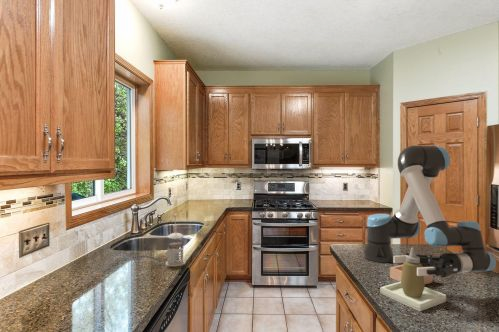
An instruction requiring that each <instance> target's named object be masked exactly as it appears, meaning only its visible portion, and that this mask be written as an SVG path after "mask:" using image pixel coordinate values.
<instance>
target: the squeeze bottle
mask: <svg viewBox="0 0 499 332" xmlns="http://www.w3.org/2000/svg"><path fill="white" fill-rule="evenodd" d="M409 254H410V255H409V256H406V261H405V262H404V263H402V265H403V270H402V277H401V285H402V289H403V292H404V294H405V295H407V296H410V297H421V295H422V293H423V291H424V288H425V287H426V286H425V285H424V276H417V268H421V267H424V266H423V264H422V263H420V258H419V257H417V255H416V254H417V252H416V248H415V247H411V248H410V251H409Z"/></svg>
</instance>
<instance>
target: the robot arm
mask: <svg viewBox="0 0 499 332" xmlns="http://www.w3.org/2000/svg"><path fill="white" fill-rule="evenodd" d="M450 164H451V157H450V154H449V152H448V150H447V149H446V148H445V147H443V146H441V145H439V146H438V145H434V144H433V145H418V144H417V145H409V146H407V147H405V148H404V149H402V150H401V151H400V154H398V158H397V168H398V172H399V174H400V176H401V177H402V178H404V179H405V182H406V184H407V186H408V187H407V188H406V192H405V195H404V196H403V199H402V202H401V205H400V207H399V209H396V210H395V212H394V214H393V216H391V215H390V214H388V213H374V214H370V215H369V216H368V217H367V222H366V234H367V235H366V239H367V240H366V245H365V247H364V250H363V258H364V259H366V260H368V261H372V262H377V263H392V262H393V264H403V263H404V262H405V261H406V256H409V255H410V253H408V252H406V253H405V255H394V253H393V248H392V246H391V242H392V241H391V239H411V238H415V237H417V236H418V235H419V233H420V232H421V227H420V226H421V222H420V221H419V217H418V214H419V212H420V215H421V216H422V219H423V222H424V224H425V226H426V229H425V230H424V233H423V235H424V240H425V242H426V243H427V244H428V245H429V246H431V247H433V248H434V247H436V248H439V247H440V248H445V247H446V248H447V247H461V250H462V251H461V252H460V251H459V252H444V253H441V254H440V256H433V255H432V254H417V253H416V255H417V257H419V258H420V263H421V264H422V265H426V267H425V266H423V267H421V268H417V276H427V275H433V276H440V277H441V278H443V279H445V278H447V277H449V276H451V275H452V274H463V273H480V272H481V273H484V272H490V271H493V270H494V269H495V268H496V266H497V265H496V264H497V260H496V258H495V257H494V255H493V254H492V253H491V252H490V251H487V250H486V248H485V244H484V239H483V235H482V230H481V227H480V225H479V223H478V221H475V220H473V221H458V222H456V226H449V223H448V221H447V220H446V218H445V215H444V214H443V212H442V210H441V208H440V205H439V203H438V201H437V199H436V197H435V195H434V193H433V191H432V189H431V187H430V186H431V184H432V181H433V179H435V178H436V179H437V177H438V176H439V173H440V172H441V171H444V170H447V169H448V168H449V166H450Z"/></svg>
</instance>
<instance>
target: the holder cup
mask: <svg viewBox="0 0 499 332" xmlns="http://www.w3.org/2000/svg"><path fill="white" fill-rule="evenodd" d="M402 270H403V264H400V265H399V264H398V265H395V266H391V267H389V278H390V279H392V280H395V281H398V282H400V281H401V277H402ZM433 282H434V275H427V276H424V286H425V285H428V284H431V283H433Z"/></svg>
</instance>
